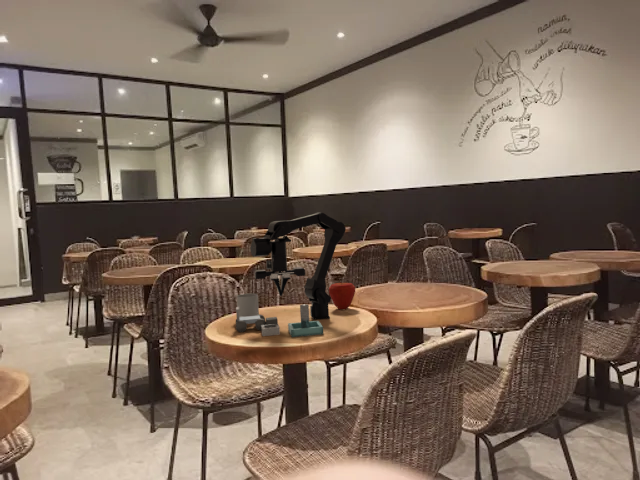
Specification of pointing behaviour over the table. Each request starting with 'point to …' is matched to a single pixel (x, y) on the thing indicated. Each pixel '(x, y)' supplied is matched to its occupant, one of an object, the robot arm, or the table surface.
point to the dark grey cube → (271, 320)
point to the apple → (342, 294)
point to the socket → (270, 329)
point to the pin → (304, 316)
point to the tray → (305, 329)
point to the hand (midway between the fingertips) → (280, 295)
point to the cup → (248, 305)
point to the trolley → (248, 321)
